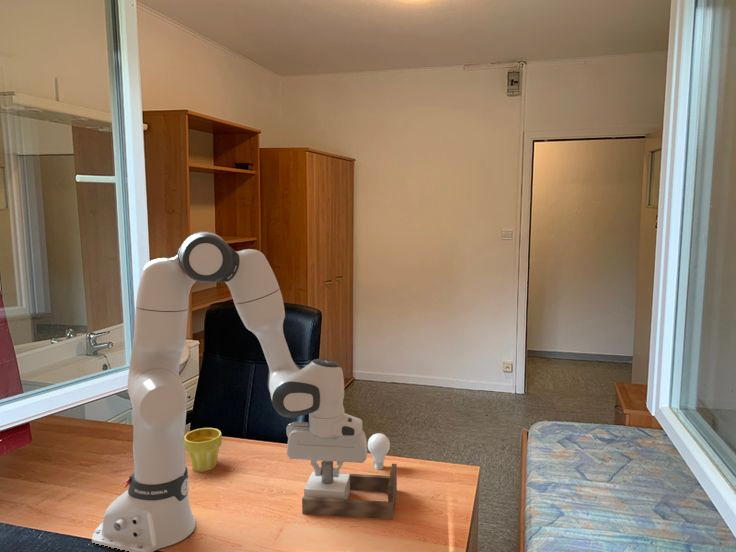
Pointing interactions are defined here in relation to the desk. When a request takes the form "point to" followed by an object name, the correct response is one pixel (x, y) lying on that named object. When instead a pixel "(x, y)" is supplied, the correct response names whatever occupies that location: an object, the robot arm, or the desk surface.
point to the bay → (358, 506)
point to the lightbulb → (378, 449)
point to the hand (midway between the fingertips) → (327, 475)
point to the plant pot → (203, 447)
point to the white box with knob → (328, 484)
